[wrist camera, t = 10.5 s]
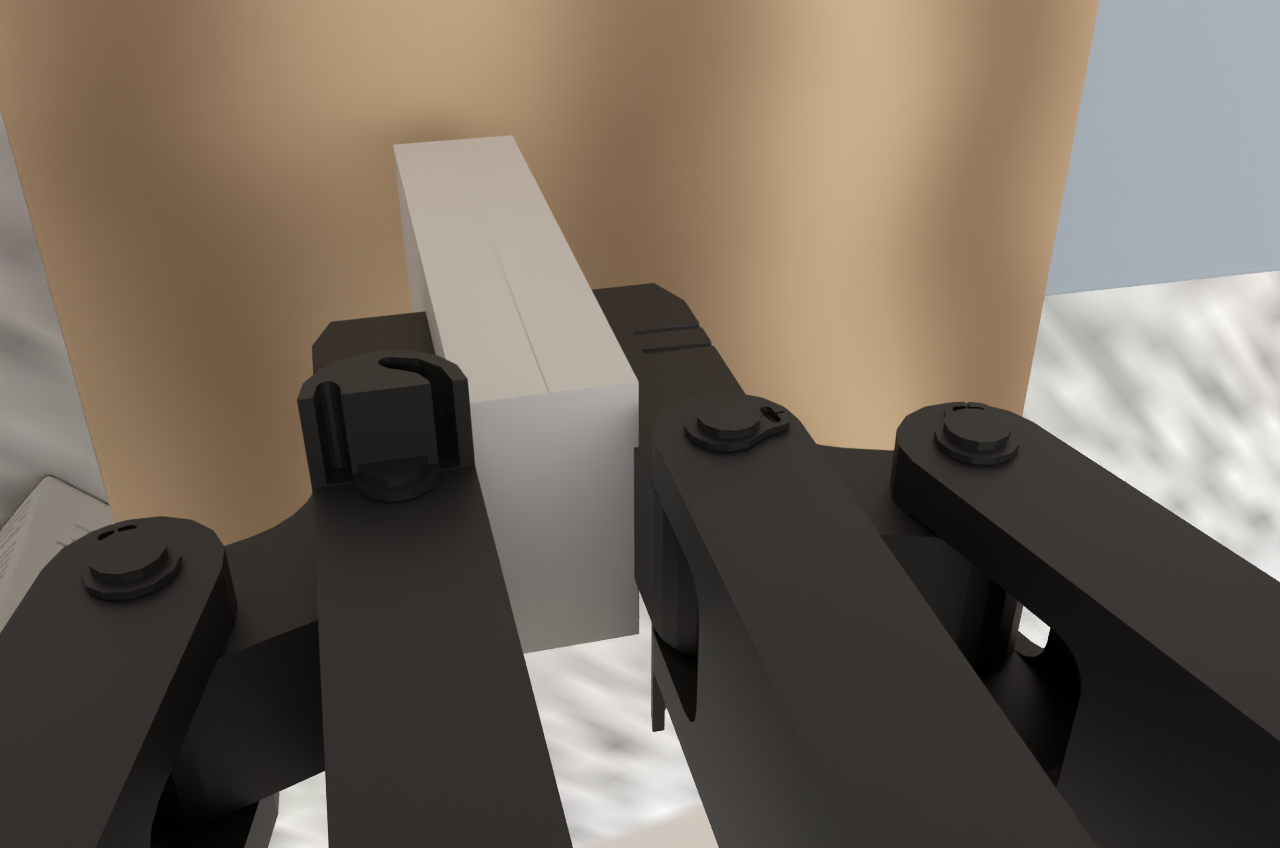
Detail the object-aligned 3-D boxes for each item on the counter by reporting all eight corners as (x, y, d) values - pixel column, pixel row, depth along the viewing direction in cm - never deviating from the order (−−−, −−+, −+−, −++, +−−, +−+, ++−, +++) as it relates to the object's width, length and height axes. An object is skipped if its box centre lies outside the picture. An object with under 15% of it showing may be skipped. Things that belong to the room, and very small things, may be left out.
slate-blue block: (1006, 300, 24) (1313, 266, 25) (1072, -82, 20) (1425, -97, 22) (868, 180, 30) (1123, 159, 31) (899, -133, 26) (1187, -142, 28)
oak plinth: (183, 370, 28) (140, 617, 21) (23, -352, 21) (-133, -376, 13) (838, 299, 31) (1007, 491, 24) (895, -348, 24) (1166, -365, 16)
